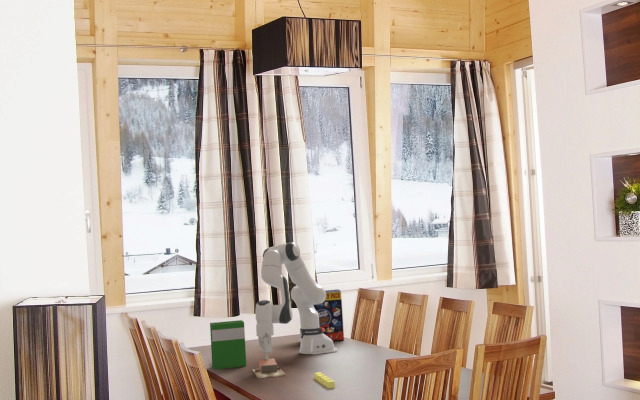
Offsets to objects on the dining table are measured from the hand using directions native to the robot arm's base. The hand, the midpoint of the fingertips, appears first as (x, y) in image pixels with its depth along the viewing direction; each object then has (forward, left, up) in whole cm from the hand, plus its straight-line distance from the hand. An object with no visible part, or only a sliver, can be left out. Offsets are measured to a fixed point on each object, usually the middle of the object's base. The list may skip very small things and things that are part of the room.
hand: (266, 358), depth 392 cm
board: (0, +4, -7) cm, 8 cm away
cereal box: (-48, -76, -7) cm, 90 cm away
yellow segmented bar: (-23, +38, -7) cm, 45 cm away
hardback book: (+17, -24, -7) cm, 30 cm away
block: (0, -1, -2) cm, 2 cm away
